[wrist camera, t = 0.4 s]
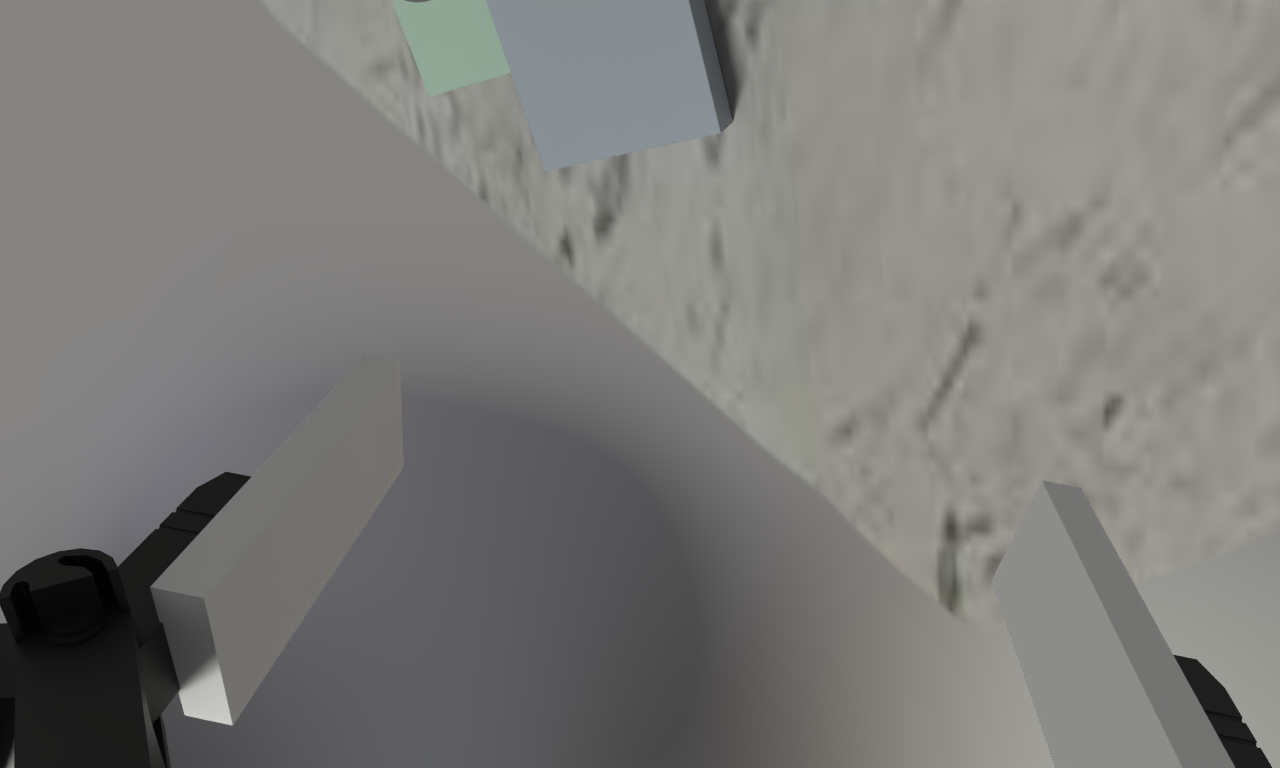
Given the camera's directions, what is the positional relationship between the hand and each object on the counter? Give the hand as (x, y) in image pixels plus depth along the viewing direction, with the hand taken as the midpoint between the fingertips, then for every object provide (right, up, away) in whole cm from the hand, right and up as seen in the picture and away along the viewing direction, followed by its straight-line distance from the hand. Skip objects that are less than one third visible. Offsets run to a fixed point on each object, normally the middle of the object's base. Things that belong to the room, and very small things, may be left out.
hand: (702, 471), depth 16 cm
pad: (-11, +21, +25) cm, 34 cm away
